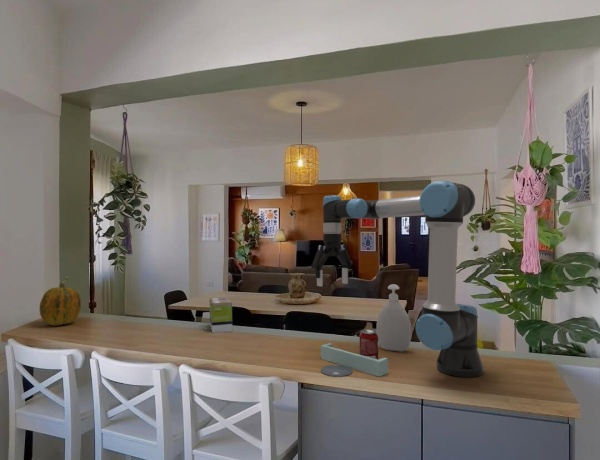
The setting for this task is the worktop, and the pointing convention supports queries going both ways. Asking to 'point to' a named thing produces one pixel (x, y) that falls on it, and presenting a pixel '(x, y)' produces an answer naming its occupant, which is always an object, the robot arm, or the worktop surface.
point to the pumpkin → (60, 305)
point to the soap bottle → (393, 325)
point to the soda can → (369, 344)
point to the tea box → (220, 314)
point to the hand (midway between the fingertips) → (332, 284)
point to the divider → (354, 360)
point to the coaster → (336, 370)
